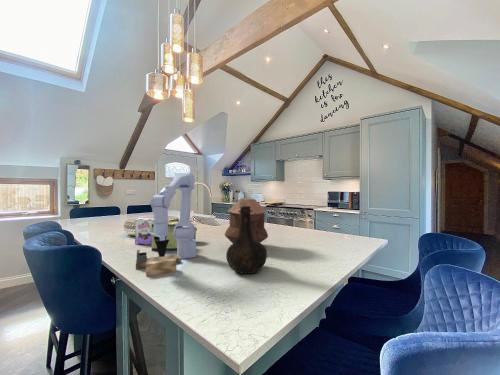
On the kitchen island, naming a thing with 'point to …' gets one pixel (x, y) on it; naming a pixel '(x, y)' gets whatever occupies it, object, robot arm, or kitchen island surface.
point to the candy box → (143, 230)
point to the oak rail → (160, 267)
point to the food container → (195, 232)
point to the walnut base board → (143, 265)
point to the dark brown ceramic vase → (246, 247)
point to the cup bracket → (141, 257)
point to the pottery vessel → (256, 220)
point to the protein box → (172, 241)
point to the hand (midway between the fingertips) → (161, 254)
